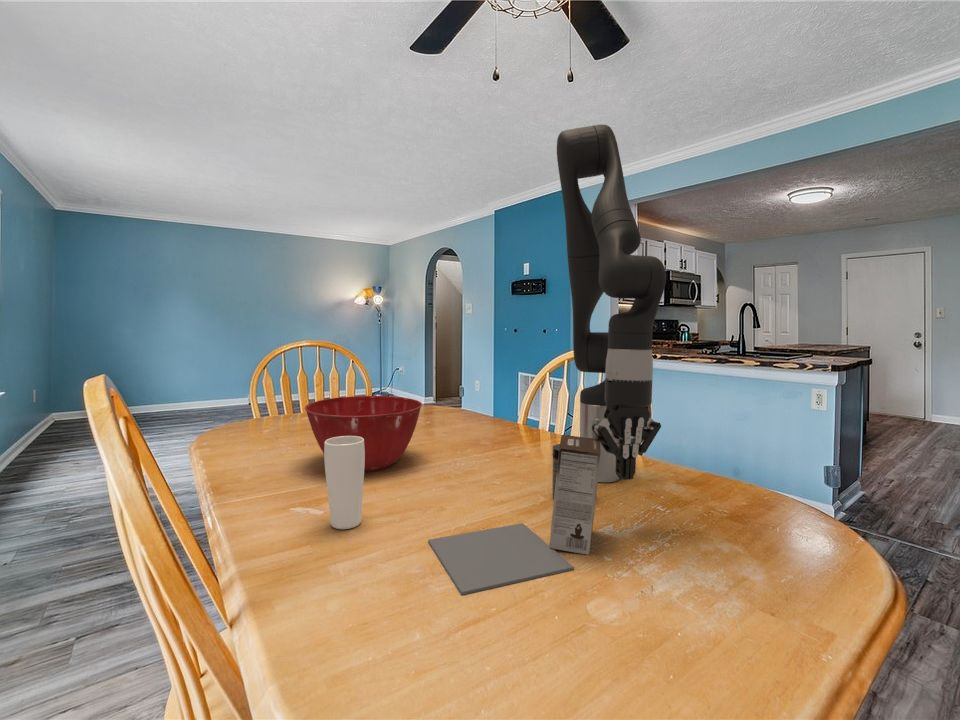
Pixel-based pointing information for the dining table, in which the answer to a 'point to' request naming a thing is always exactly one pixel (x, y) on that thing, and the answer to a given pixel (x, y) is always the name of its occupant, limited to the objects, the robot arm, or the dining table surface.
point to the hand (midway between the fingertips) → (625, 478)
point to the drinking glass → (345, 479)
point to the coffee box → (575, 494)
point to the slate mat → (496, 557)
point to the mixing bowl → (367, 424)
